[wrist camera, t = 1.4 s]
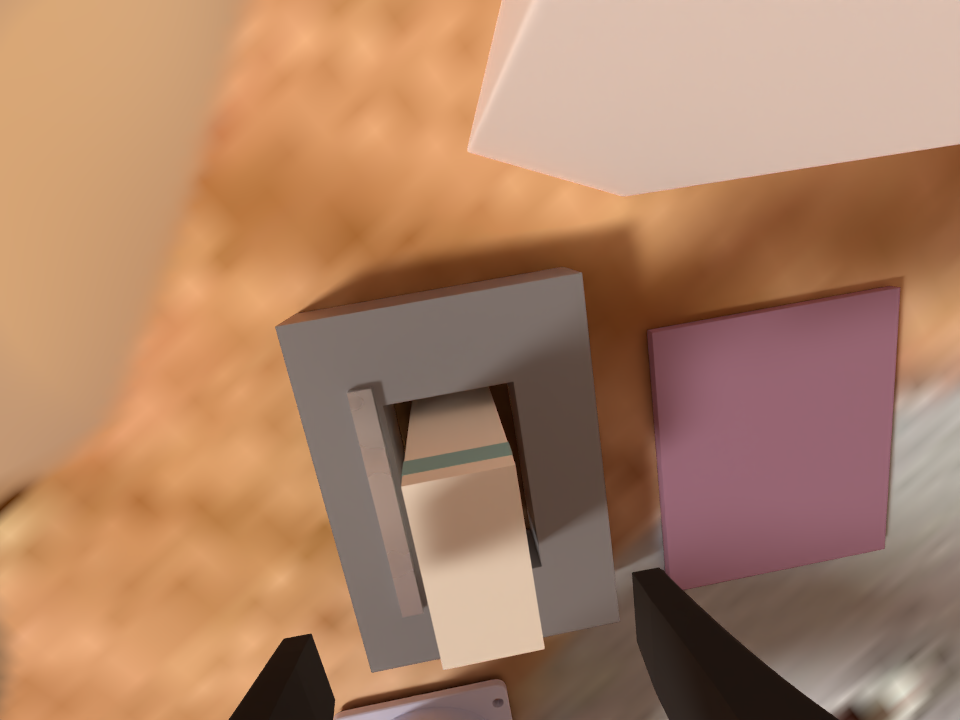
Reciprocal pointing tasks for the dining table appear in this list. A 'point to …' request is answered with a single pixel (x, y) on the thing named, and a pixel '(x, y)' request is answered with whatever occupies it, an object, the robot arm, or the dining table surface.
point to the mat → (774, 435)
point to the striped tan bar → (469, 529)
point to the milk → (714, 87)
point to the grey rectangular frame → (442, 370)
